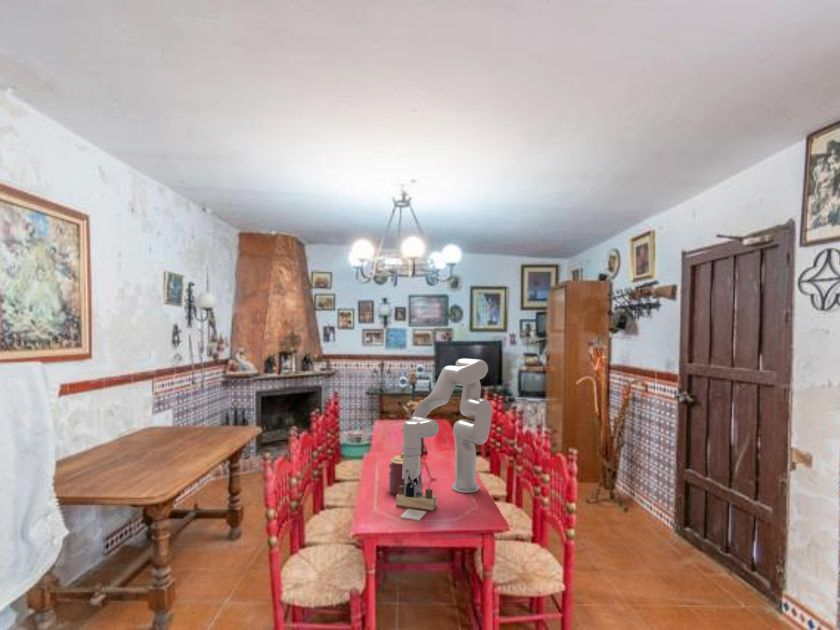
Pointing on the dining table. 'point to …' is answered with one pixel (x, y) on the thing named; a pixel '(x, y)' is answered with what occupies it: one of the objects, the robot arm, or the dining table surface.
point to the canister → (396, 474)
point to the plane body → (417, 500)
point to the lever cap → (414, 488)
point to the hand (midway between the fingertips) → (412, 493)
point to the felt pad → (413, 514)
